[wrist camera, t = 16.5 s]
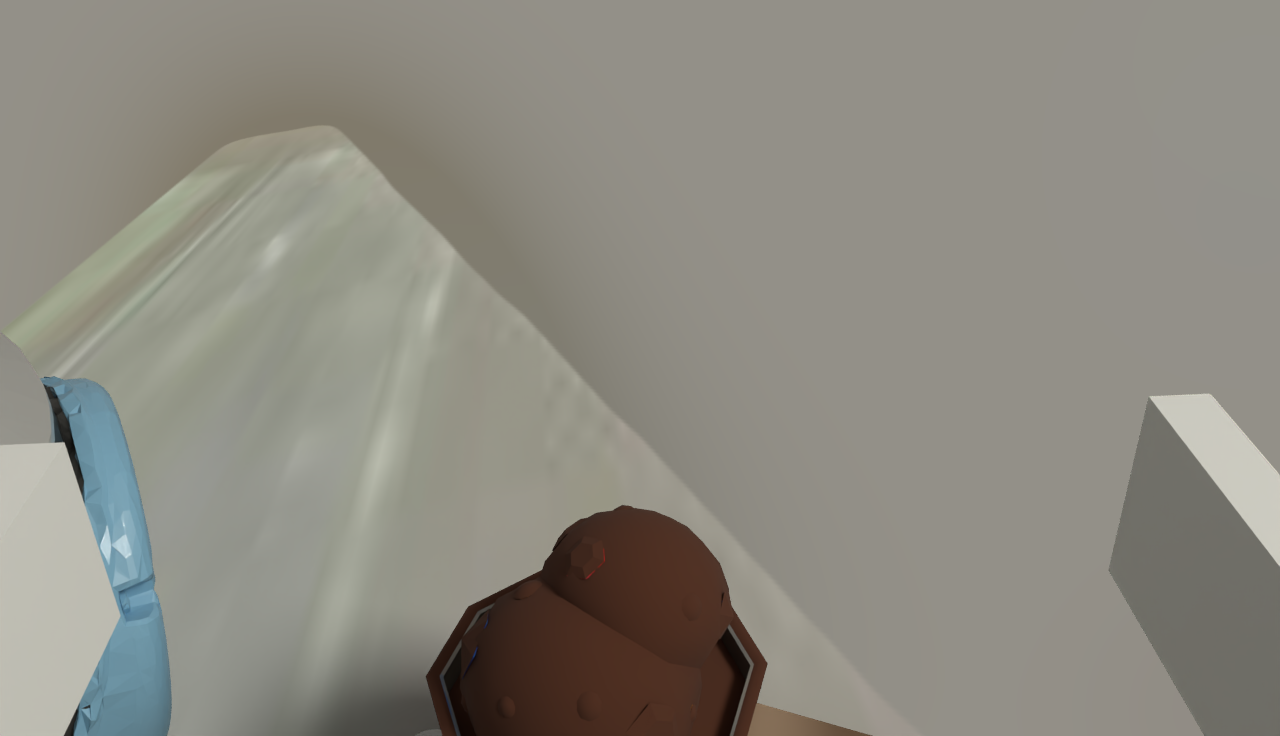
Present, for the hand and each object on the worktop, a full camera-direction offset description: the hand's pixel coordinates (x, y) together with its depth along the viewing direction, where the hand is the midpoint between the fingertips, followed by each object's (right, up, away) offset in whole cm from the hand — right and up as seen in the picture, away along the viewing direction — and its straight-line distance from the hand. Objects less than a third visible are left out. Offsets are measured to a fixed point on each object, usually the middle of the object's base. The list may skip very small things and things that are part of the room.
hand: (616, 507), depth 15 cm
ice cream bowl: (-1, -16, +29) cm, 33 cm away
